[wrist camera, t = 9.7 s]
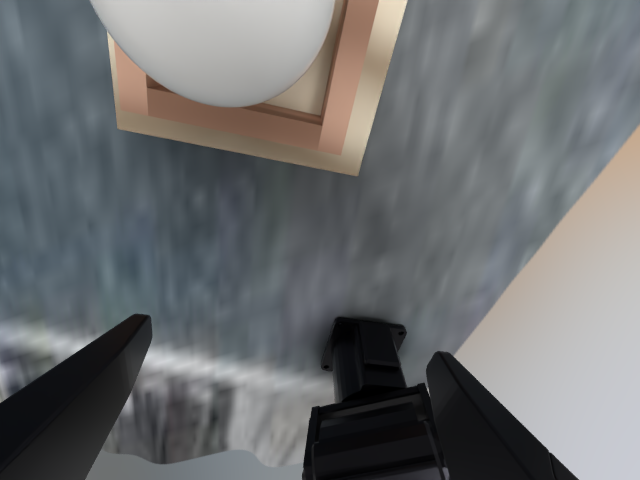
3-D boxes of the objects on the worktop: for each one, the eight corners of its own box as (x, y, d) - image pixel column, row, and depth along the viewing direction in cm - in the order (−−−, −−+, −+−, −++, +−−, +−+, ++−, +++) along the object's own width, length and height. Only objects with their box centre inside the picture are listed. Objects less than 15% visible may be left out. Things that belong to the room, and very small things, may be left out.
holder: (355, 170, 20) (365, 195, 17) (128, 124, 19) (84, 141, 15) (440, -139, 14) (488, -210, 10) (93, -261, 12) (-4, -402, 8)
